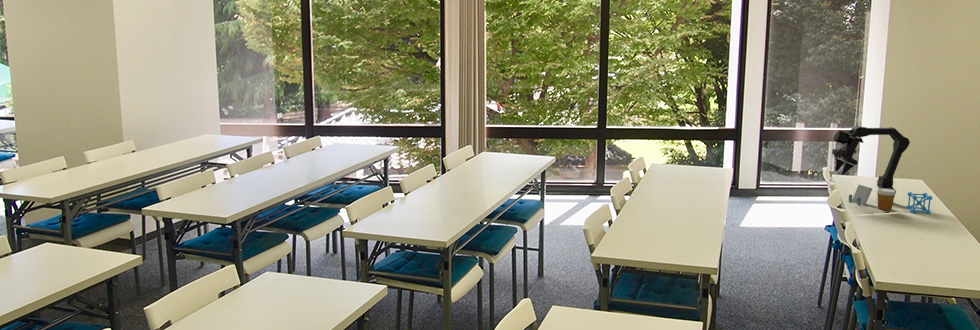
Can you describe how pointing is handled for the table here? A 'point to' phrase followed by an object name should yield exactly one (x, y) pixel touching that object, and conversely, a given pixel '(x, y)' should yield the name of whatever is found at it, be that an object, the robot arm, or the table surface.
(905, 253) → the table surface
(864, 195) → the grey square plate
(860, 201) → the tablet stand
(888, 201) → the disposable coffee cup
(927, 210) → the molecular structure
